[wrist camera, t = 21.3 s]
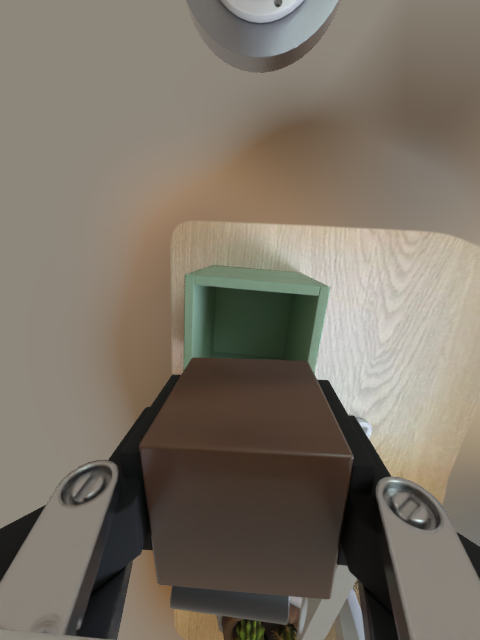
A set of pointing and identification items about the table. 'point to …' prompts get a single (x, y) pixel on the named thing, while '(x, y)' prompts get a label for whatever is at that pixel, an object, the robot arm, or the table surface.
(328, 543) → the block
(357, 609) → the low poly bottle
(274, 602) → the green box lid
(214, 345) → the box
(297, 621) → the flowerpot
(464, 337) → the table surface
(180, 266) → the table surface
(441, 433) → the table surface
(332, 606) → the phone holder
